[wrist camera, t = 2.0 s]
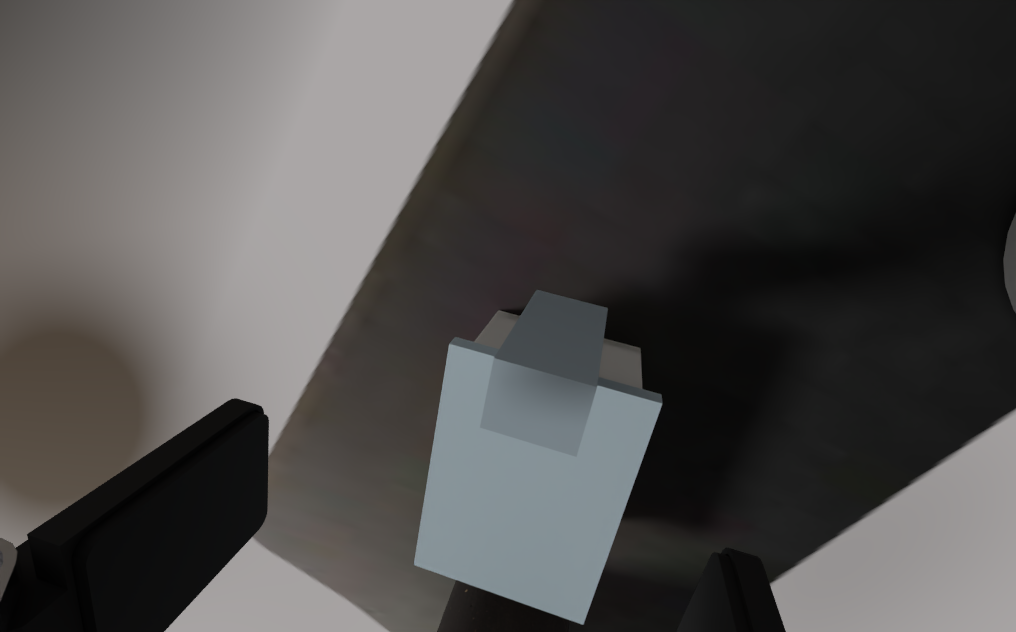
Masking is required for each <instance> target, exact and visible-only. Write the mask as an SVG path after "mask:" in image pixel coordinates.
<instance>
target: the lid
mask: <svg viewBox="0 0 1016 632" xmlns="http://www.w3.org/2000/svg"><path fill="white" fill-rule="evenodd" d="M607 311H608V308H606V307H602V306H598V305H594V304H590V303H586V302H582V301H579V300H575V299H571V298H567V297H563V296H559V295H555V294H551V293H547V292H544V291H540V290H536V292H535V293H534V295H533V296H532V298H531V300H530V301H529V303H528V304H527V306H526V307H525V309H524V311H523V312H522V314H521V315H520V317H519V319H518V320H517V322H516V323H515V325H514V327H513V328H512V330H511V331H510V333H509V335H508V336H507V338H506V339H505V341H504V343H503V344H502V346H501V347H500V349H497V348H493V347H489V346H486V345H482V344H479V343H475V342H472V341H468V340H464V339H461V338H457V337H455V338H454V339H453V340H452V341H451V342H450V344H449V349H448V355H447V361H446V368H445V374H444V380H443V386H442V392H441V399H440V405H439V411H438V417H437V424H436V430H435V436H434V442H433V448H432V455H431V461H430V467H429V473H428V480H427V486H426V492H425V498H424V504H423V511H422V517H421V523H420V529H419V535H418V542H417V548H416V554H415V560H414V565H416V566H418V567H421V568H424V569H427V570H430V571H433V572H435V573H438V574H441V575H444V576H447V577H449V578H452V579H455V580H458V581H461V582H464V583H466V584H469V585H472V586H475V587H478V588H480V589H483V590H486V591H489V592H492V593H495V594H497V595H500V596H503V597H506V598H509V599H512V600H514V601H517V602H520V603H523V604H526V605H528V606H531V607H534V608H537V609H540V610H543V611H545V612H548V613H551V614H554V615H557V616H559V617H562V618H565V619H568V620H571V621H574V622H576V623H579V624H582V625H583V624H584V621H585V619H586V616H587V613H588V610H589V607H590V605H591V602H592V599H593V596H594V593H595V591H596V588H597V585H598V582H599V580H600V577H601V574H602V571H603V568H604V566H605V563H606V560H607V557H608V554H609V552H610V549H611V546H612V543H613V540H614V538H615V535H616V532H617V529H618V526H619V524H620V521H621V518H622V515H623V512H624V510H625V507H626V504H627V501H628V498H629V496H630V493H631V490H632V487H633V485H634V482H635V479H636V476H637V473H638V471H639V468H640V465H641V462H642V459H643V457H644V454H645V451H646V448H647V445H648V443H649V440H650V437H651V434H652V431H653V429H654V426H655V423H656V420H657V417H658V415H659V412H660V409H661V406H662V396H661V394H658V393H655V392H651V391H647V390H644V389H640V388H637V387H633V386H630V385H626V384H622V383H619V382H615V381H612V380H608V379H604V378H601V377H599V370H600V362H601V355H602V348H603V340H604V333H605V326H606V318H607Z"/></svg>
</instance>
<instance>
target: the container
mask: <svg viewBox="0 0 1016 632" xmlns="http://www.w3.org/2000/svg"><path fill="white" fill-rule="evenodd" d="M568 629H569V620H568V619H565V618H562V617H559V616H557V615H554V614H551V613H548V612H545V611H543V610H540V609H537V608H534V607H531V606H528V605H526V604H523V603H520V602H517V601H514V600H512V599H509V598H506V597H503V596H500V595H497V594H495V593H492V592H489V591H486V590H483V589H480V588H478V587H475V586H472V585H469V584H466V583H464V582H461V581H458V580H456V582H455V585H454V588H453V590H452V593H451V595H450V598H449V601H448V604H447V606H446V609H445V612H444V614H443V617H442V620H441V623H440V625H439V628H438V631H437V632H568Z"/></svg>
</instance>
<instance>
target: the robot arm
mask: <svg viewBox="0 0 1016 632" xmlns="http://www.w3.org/2000/svg"><path fill="white" fill-rule="evenodd" d="M1003 262H1004V276H1005V287H1006V289H1007V292H1008V295H1009V298H1010V301H1011V304H1012V307H1013V310H1014V311H1015V312H1016V213H1015V216H1014V218H1013V221H1012V223H1011V226H1010V228H1009V231H1008V235H1007V241H1006V247H1005V253H1004V259H1003ZM268 430H269V420H268V417H267V415H265V414H264V411H263V408H262V407H261V406H259V405H256V404H253V403H250V402H246V401H243V400H240V399H231V400H229V401H227V402H226V403H224V404H223V405H221V406H220V407H218V408H217V409H215V410H214V411H212V412H211V413H209V414H208V415H206V416H205V417H203V418H202V419H200V420H199V421H197V422H196V423H194V424H193V425H191V426H190V427H188V428H187V429H185V430H184V431H182V432H181V433H179V434H177V435H176V436H174V437H173V438H172V439H170V440H168V441H167V442H166V443H164V444H162V445H161V446H160V447H158V448H156V449H155V450H154V451H152V452H150V453H149V454H147V455H146V456H144V457H143V458H141V459H140V460H139V461H137V462H135V463H134V464H132V465H131V466H129V467H128V468H126V469H125V470H123V471H122V472H120V473H119V474H117V475H116V476H114V477H113V478H111V479H110V480H108V481H107V482H105V483H104V484H102V485H101V486H99V487H98V488H96V489H95V490H93V491H92V492H90V493H89V494H87V495H86V496H84V497H83V498H81V499H80V500H78V501H77V502H75V503H74V504H72V505H71V506H69V507H68V508H66V509H65V510H63V511H61V512H60V513H58V514H57V515H55V516H54V517H53V518H51V519H49V520H48V521H46V522H45V523H43V524H42V525H40V526H39V527H37V528H36V529H34V530H33V531H32V532H30V533H28V534H27V536H28V540H27V541H25V542H24V543H22V544H21V545H19V546H18V547H16V548H15V547H14V545H13V544H12V543H11V542H8V541H6V540H4V539H2V538H0V632H164V631H165V630H166V629H167V628H168V627H169V625H170V624H172V623H173V621H174V620H175V619H176V618H177V617H178V616H179V615H180V614H181V613H182V612H183V611H184V610H185V609H186V607H187V606H188V605H189V604H190V603H191V602H192V601H193V600H194V599H195V598H196V597H197V595H199V593H200V592H201V591H202V590H203V589H204V588H205V587H206V586H207V585H208V584H209V583H210V582H211V580H212V579H213V578H214V577H215V576H216V575H217V574H218V573H219V572H220V571H221V570H222V568H224V567H225V565H226V564H227V563H228V562H229V561H230V560H231V559H232V558H233V557H234V556H235V554H236V553H237V552H238V551H239V550H240V549H241V548H242V547H243V546H244V545H245V544H246V543H247V542H248V541H249V540H250V539H251V537H252V536H253V535H254V534H255V533H256V532H257V531H258V530H259V529H260V527H261V526H262V524H263V523H264V520H265V518H266V515H267V501H268V436H269V435H268V434H269V432H268ZM676 632H786V631H785V628H784V625H783V622H782V620H781V617H780V614H779V611H778V608H777V605H776V602H775V599H774V596H773V593H772V590H771V587H770V584H769V581H768V578H767V575H766V572H765V569H764V567H763V564H762V562H761V560H760V559H759V558H758V557H757V556H754V555H750V554H747V553H744V552H740V551H737V550H734V549H731V548H725V549H724V550H723V551H722V553H721V554H719V553H716V552H714V553H713V554H712V555H711V557H710V559H709V561H708V563H707V565H706V567H705V569H704V572H703V574H702V576H701V578H700V580H699V583H698V585H697V587H696V589H695V591H694V593H693V596H692V598H691V600H690V602H689V604H688V607H687V609H686V611H685V613H684V615H683V617H682V620H681V622H680V624H679V626H678V628H677V631H676Z"/></svg>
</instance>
